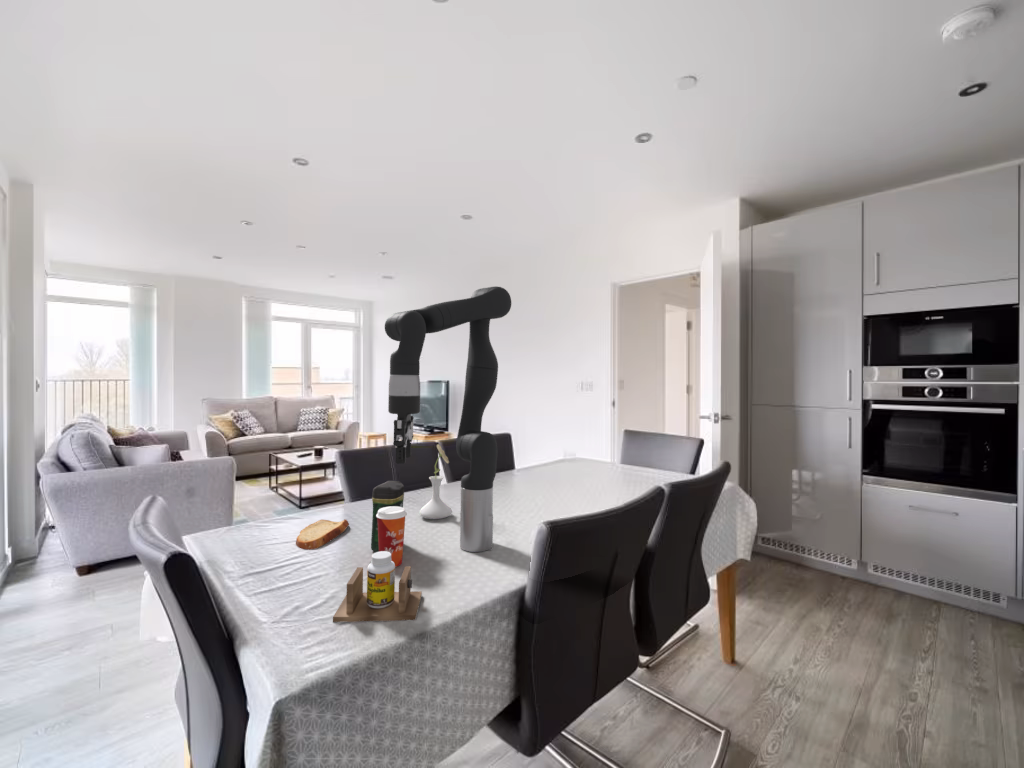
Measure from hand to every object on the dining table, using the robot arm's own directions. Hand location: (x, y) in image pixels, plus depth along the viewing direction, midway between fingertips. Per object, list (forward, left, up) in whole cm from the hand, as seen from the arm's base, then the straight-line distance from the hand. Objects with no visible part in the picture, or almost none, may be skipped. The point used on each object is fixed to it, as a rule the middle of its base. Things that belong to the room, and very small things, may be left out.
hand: (403, 460), depth 109 cm
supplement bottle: (+2, +16, -27) cm, 32 cm away
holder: (+2, +16, -28) cm, 32 cm away
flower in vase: (-4, -47, -28) cm, 55 cm away
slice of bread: (+28, -29, -29) cm, 49 cm away
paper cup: (+4, -7, -28) cm, 29 cm away
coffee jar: (+7, -18, -28) cm, 34 cm away
